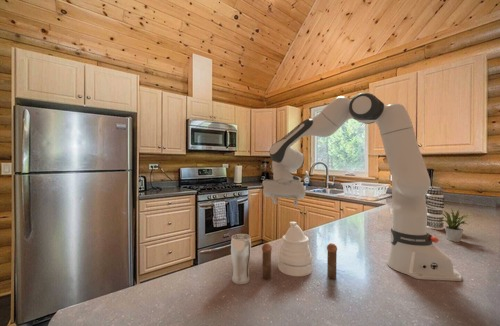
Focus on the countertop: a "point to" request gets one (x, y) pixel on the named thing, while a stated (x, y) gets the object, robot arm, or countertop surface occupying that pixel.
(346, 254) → the countertop surface
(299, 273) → the honey pot
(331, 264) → the post
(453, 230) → the house plant
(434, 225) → the decorative candle
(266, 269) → the post
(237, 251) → the beer glass
